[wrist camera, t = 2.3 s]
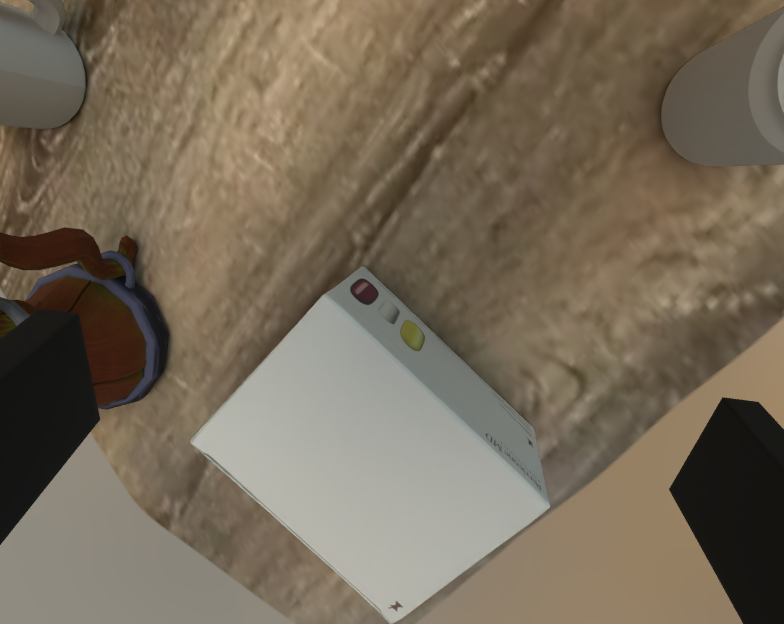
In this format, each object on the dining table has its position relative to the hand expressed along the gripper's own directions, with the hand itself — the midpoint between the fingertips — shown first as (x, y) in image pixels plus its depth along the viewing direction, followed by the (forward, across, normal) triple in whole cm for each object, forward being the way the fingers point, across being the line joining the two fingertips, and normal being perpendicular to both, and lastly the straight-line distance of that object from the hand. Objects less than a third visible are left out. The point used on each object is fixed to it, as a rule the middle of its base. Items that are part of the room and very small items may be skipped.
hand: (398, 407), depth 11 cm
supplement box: (+21, +1, -17) cm, 27 cm away
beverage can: (+23, +17, +5) cm, 29 cm away
